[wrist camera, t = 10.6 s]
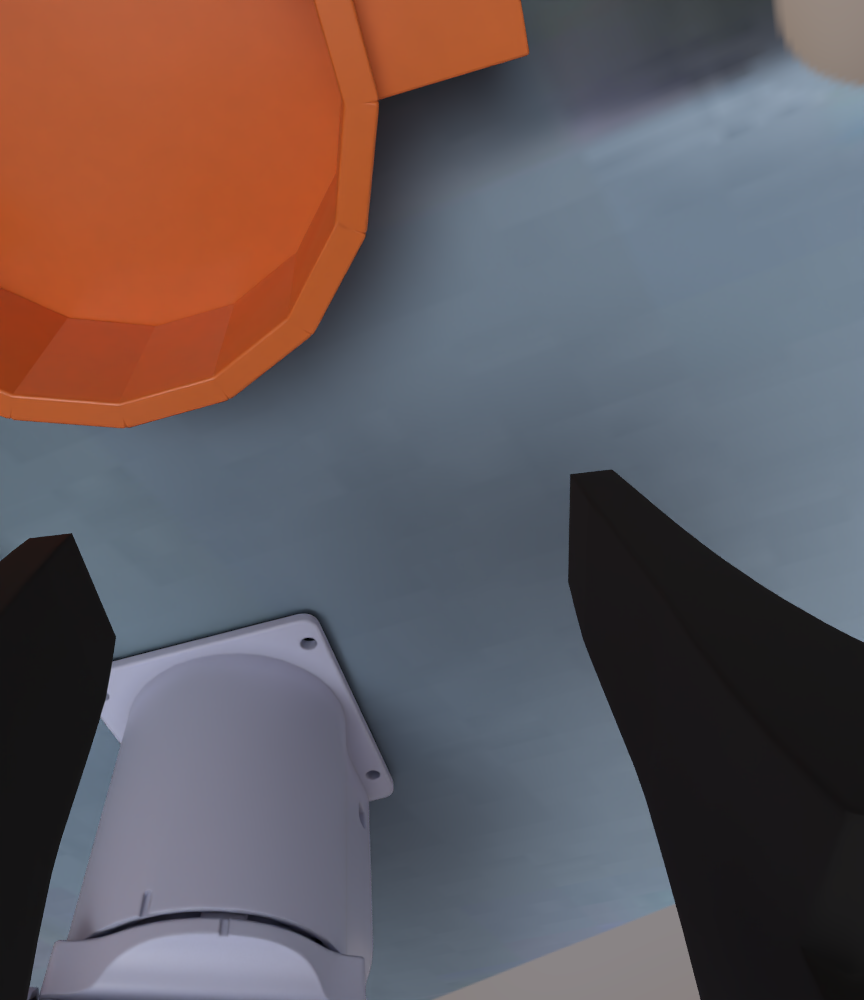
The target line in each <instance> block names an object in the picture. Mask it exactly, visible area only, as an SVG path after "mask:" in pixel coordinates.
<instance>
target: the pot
mask: <svg viewBox="0 0 864 1000" xmlns="http://www.w3.org/2000/svg"><path fill="white" fill-rule="evenodd" d="M528 54H529V47H528V41H527V35H526V29H525V23H524V17H523V11H522V4H521V0H0V416H2V417H5V418H9V419H10V418H12V419H13V420H21V421H34V422H48V423H61V424H74V425H87V426H100V427H113V428H125V427H128V428H130V427H133V426H137V425H141V424H144V423H148V422H152V421H155V420H159V419H162V418H166V417H170V416H173V415H177V414H180V413H184V412H188V411H191V410H195V409H199V408H202V407H206V406H209V405H213V404H217V403H220V402H224V401H227V400H228V399H229V398H233V397H234V396H236V395H237V394H238V393H239V392H241V391H242V390H243V389H244V388H246V387H247V386H248V385H250V384H251V383H252V382H253V381H255V380H256V379H257V378H259V377H260V376H261V375H262V374H264V373H265V372H266V371H267V370H269V369H270V368H271V367H273V366H274V365H275V364H276V363H278V362H279V361H280V360H281V359H283V358H284V357H285V356H287V355H288V354H289V353H290V352H292V351H293V350H294V349H296V348H297V347H298V346H299V345H301V344H302V343H303V342H304V341H306V340H307V339H308V338H310V336H311V335H312V334H314V333H315V331H316V329H317V327H318V325H319V323H320V321H321V319H322V318H323V316H324V314H325V312H326V310H327V308H328V306H329V304H330V303H331V301H332V299H333V297H334V295H335V293H336V291H337V290H338V288H339V286H340V284H341V282H342V280H343V278H344V276H345V275H346V273H347V271H348V269H349V267H350V265H351V263H352V261H353V260H354V258H355V256H356V254H357V252H358V250H359V248H360V246H361V245H362V243H363V241H364V239H365V237H366V231H367V228H368V217H369V207H370V197H371V186H372V176H373V165H374V155H375V145H376V134H377V124H378V113H379V102H378V100H381V99H384V98H387V97H391V96H394V95H397V94H401V93H404V92H407V91H411V90H414V89H417V88H421V87H424V86H427V85H431V84H434V83H437V82H441V81H444V80H447V79H451V78H454V77H457V76H461V75H464V74H467V73H471V72H474V71H477V70H481V69H484V68H487V67H491V66H494V65H497V64H501V63H504V62H507V61H511V60H514V59H517V58H521V57H524V56H527V55H528Z"/></svg>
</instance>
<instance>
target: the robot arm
mask: <svg viewBox="0 0 864 1000" xmlns="http://www.w3.org/2000/svg"><path fill="white" fill-rule="evenodd" d="M568 583H569V587H570V591H571V595H572V599H573V603H574V607H575V611H576V615H577V618H578V622H579V626H580V629H581V633H582V637H583V640H584V643H585V645H586V648H587V651H588V653H589V656H590V658H591V661H592V663H593V666H594V668H595V671H596V673H597V676H598V678H599V681H600V683H601V686H602V688H603V691H604V693H605V696H606V698H607V701H608V703H609V705H610V708H611V710H612V713H613V715H614V718H615V720H616V723H617V725H618V728H619V730H620V733H621V735H622V737H623V740H624V742H625V745H626V747H627V750H628V752H629V755H630V757H631V760H632V762H633V765H634V767H635V770H636V773H637V775H638V778H639V781H640V784H641V787H642V789H643V792H644V795H645V798H646V802H647V805H648V808H649V812H650V815H651V819H652V822H653V826H654V829H655V833H656V836H657V839H658V843H659V846H660V850H661V853H662V857H663V860H664V864H665V867H666V871H667V875H668V878H669V882H670V886H671V889H672V893H673V896H674V900H675V904H676V907H677V911H678V915H679V918H680V922H681V925H682V929H683V933H684V937H685V941H686V944H687V948H688V952H689V956H690V960H691V964H692V968H693V972H694V976H695V980H696V983H697V987H698V991H699V995H700V999H701V1000H864V642H862V641H859V640H857V639H855V638H853V637H851V636H849V635H847V634H845V633H844V632H842V631H840V630H838V629H836V628H834V627H832V626H830V625H828V624H826V623H824V622H823V621H821V620H819V619H817V618H816V617H814V616H812V615H811V614H809V613H807V612H805V611H804V610H802V609H800V608H798V607H797V606H795V605H793V604H791V603H790V602H788V601H786V600H784V599H783V598H781V597H779V596H778V595H776V594H775V593H773V592H771V591H770V590H768V589H767V588H765V587H763V586H762V585H760V584H759V583H757V582H756V581H754V580H753V579H751V578H750V577H749V576H747V575H746V574H744V573H743V572H741V571H740V570H738V569H737V568H735V567H734V566H732V565H731V564H729V563H728V562H727V561H725V560H724V559H722V558H721V557H720V556H718V555H717V554H716V553H714V552H713V551H711V550H710V549H709V548H707V547H706V546H705V545H703V544H702V543H701V542H699V541H698V540H697V539H696V538H694V537H693V536H692V535H690V534H689V533H688V532H687V531H685V530H684V529H683V528H681V527H680V526H679V525H678V524H676V523H675V522H674V521H673V520H672V519H670V518H669V517H668V516H667V515H665V514H664V513H663V512H662V511H661V510H659V509H658V508H657V507H656V506H655V505H653V504H652V503H651V502H650V501H649V500H648V499H646V498H645V497H644V496H643V495H642V494H641V493H639V492H638V491H637V490H636V489H635V488H633V487H632V486H631V485H630V484H629V483H628V482H626V481H625V480H624V479H623V478H622V477H620V476H619V475H618V474H617V473H616V472H614V471H613V470H603V471H595V472H586V473H578V474H570V518H569V569H568ZM305 638H312V639H314V640H312V641H306V640H303V639H305ZM115 639H116V636H115V634H114V631H113V629H112V627H111V624H110V622H109V620H108V617H107V615H106V612H105V610H104V608H103V605H102V603H101V601H100V598H99V596H98V594H97V591H96V589H95V587H94V584H93V582H92V579H91V577H90V575H89V572H88V570H87V568H86V565H85V563H84V561H83V558H82V556H81V554H80V551H79V549H78V547H77V544H76V542H75V539H74V537H73V535H72V533H71V534H62V535H54V536H45V537H37V538H29V539H28V540H27V541H25V542H24V543H23V544H21V545H20V546H19V547H17V548H16V549H15V550H14V551H12V552H11V553H10V554H9V555H8V556H6V557H5V558H4V559H3V560H2V561H0V1000H366V982H367V978H368V975H369V972H370V968H371V963H372V956H373V922H372V888H371V854H370V821H369V801H373V800H377V799H381V798H385V797H388V796H389V795H390V794H392V792H393V790H394V786H393V779H392V777H391V775H390V773H389V770H388V768H387V766H386V764H385V762H384V760H383V758H382V756H381V753H380V751H379V749H378V747H377V745H376V743H375V741H374V738H373V736H372V734H371V732H370V730H369V728H368V726H367V723H366V721H365V719H364V717H363V715H362V713H361V711H360V708H359V706H358V704H357V702H356V700H355V698H354V696H353V694H352V691H351V689H350V687H349V685H348V683H347V681H346V679H345V676H344V674H343V672H342V670H341V668H340V666H339V664H338V661H337V659H336V657H335V655H334V653H333V651H332V649H331V647H330V644H329V642H328V640H327V638H326V636H325V634H324V632H323V629H322V627H321V625H320V623H319V621H318V620H317V619H316V617H314V616H312V615H310V614H305V613H303V614H296V615H292V616H288V617H284V618H280V619H277V620H273V621H269V622H265V623H261V624H257V625H253V626H249V627H245V628H241V629H237V630H234V631H230V632H226V633H222V634H218V635H214V636H210V637H206V638H202V639H198V640H194V641H190V642H187V643H183V644H179V645H175V646H171V647H167V648H163V649H159V650H155V651H151V652H147V653H144V654H140V655H136V656H132V657H128V658H124V659H120V660H116V661H112V660H113V653H114V646H115ZM100 717H101V719H102V720H103V721H104V723H105V724H106V725H107V727H108V728H109V729H110V731H111V732H112V733H113V734H114V736H115V737H116V738H117V740H118V741H119V742H120V744H121V746H120V749H119V753H118V757H117V760H116V764H115V767H114V771H113V775H112V778H111V782H110V786H109V789H108V793H107V796H106V800H105V804H104V807H103V811H102V815H101V818H100V822H99V826H98V829H97V833H96V836H95V840H94V844H93V847H92V851H91V855H90V858H89V862H88V865H87V869H86V873H85V876H84V880H83V884H82V887H81V891H80V894H79V898H78V902H77V905H76V909H75V913H74V916H73V920H72V924H71V927H70V931H69V934H68V938H67V940H59V941H57V942H55V943H54V946H53V950H52V953H51V956H50V960H49V963H48V967H47V970H46V974H45V977H44V981H43V984H42V988H41V991H40V995H39V990H38V988H37V987H29V986H30V981H31V975H32V969H33V964H34V958H35V953H36V947H37V942H38V937H39V932H40V927H41V922H42V918H43V913H44V908H45V903H46V898H47V893H48V889H49V884H50V879H51V874H52V870H53V867H54V863H55V859H56V856H57V852H58V849H59V845H60V841H61V838H62V835H63V832H64V829H65V826H66V823H67V820H68V817H69V813H70V810H71V807H72V804H73V801H74V798H75V795H76V792H77V789H78V786H79V783H80V779H81V776H82V773H83V770H84V767H85V764H86V761H87V758H88V755H89V752H90V749H91V745H92V742H93V739H94V736H95V733H96V729H97V726H98V723H99V720H100Z"/></svg>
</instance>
